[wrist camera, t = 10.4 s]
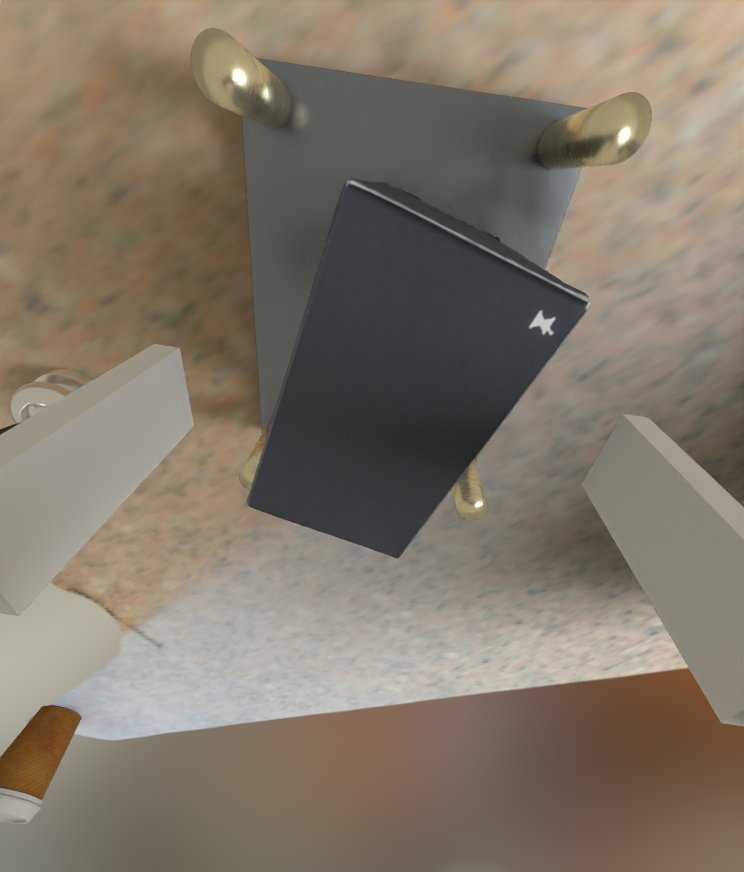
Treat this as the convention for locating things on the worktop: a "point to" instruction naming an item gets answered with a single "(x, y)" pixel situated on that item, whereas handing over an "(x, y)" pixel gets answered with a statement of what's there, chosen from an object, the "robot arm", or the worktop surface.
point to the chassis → (392, 176)
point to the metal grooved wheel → (45, 392)
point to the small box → (403, 367)
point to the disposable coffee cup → (34, 762)
